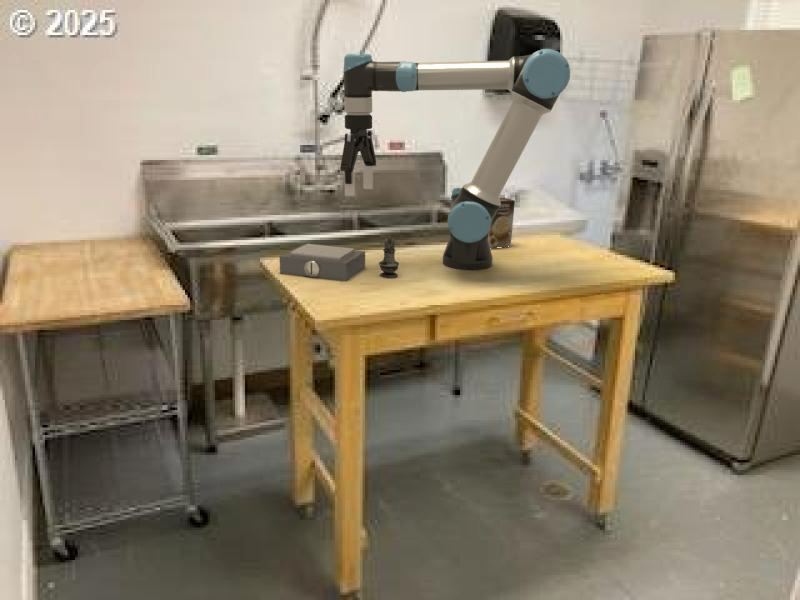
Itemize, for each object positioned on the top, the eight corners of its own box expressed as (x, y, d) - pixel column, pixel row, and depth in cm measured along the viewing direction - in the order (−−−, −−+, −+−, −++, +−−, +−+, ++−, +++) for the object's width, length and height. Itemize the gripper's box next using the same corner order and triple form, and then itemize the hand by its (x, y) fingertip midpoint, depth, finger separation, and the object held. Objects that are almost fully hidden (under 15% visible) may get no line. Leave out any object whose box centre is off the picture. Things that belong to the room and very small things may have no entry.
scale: (365, 267, 197) (365, 248, 195) (345, 281, 183) (345, 260, 181) (303, 260, 202) (302, 241, 201) (278, 274, 188) (278, 253, 186)
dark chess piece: (400, 273, 192) (401, 232, 189) (398, 279, 187) (399, 236, 183) (379, 272, 193) (380, 231, 189) (377, 277, 187) (377, 235, 184)
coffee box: (488, 249, 223) (492, 201, 218) (478, 245, 228) (481, 198, 223) (511, 247, 227) (515, 200, 222) (500, 243, 232) (504, 197, 227)
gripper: (362, 112, 194) (363, 185, 201) (326, 115, 172) (328, 198, 179) (387, 112, 192) (387, 186, 199) (353, 116, 170) (354, 199, 176)
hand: (359, 192), depth 189 cm, fingers open, 13 cm apart
